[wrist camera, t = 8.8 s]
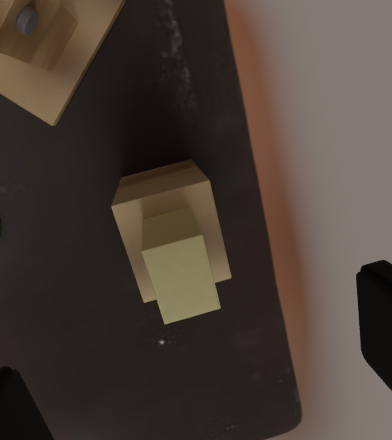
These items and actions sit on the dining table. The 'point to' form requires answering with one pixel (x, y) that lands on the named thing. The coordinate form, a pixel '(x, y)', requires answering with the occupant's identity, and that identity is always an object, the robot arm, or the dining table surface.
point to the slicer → (50, 49)
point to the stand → (164, 203)
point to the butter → (178, 265)
